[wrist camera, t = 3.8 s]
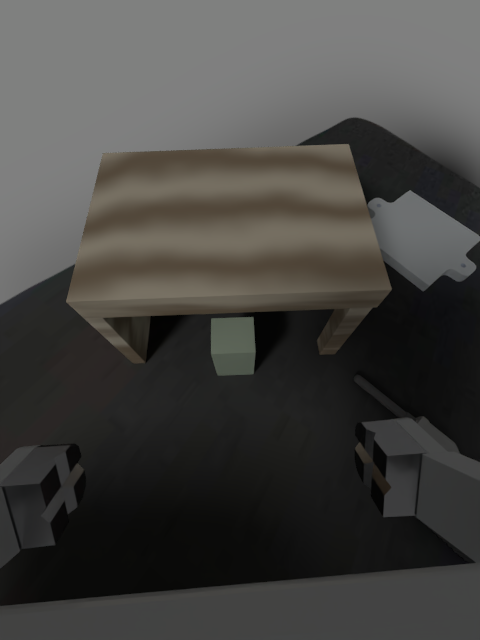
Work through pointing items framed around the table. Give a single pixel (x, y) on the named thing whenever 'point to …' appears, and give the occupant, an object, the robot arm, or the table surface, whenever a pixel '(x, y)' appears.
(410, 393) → the table surface
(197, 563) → the table surface
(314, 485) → the table surface
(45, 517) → the robot arm
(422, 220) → the mounting plate
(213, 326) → the sage wooden block
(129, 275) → the wood grain stool
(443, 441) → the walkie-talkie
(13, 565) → the table surface
